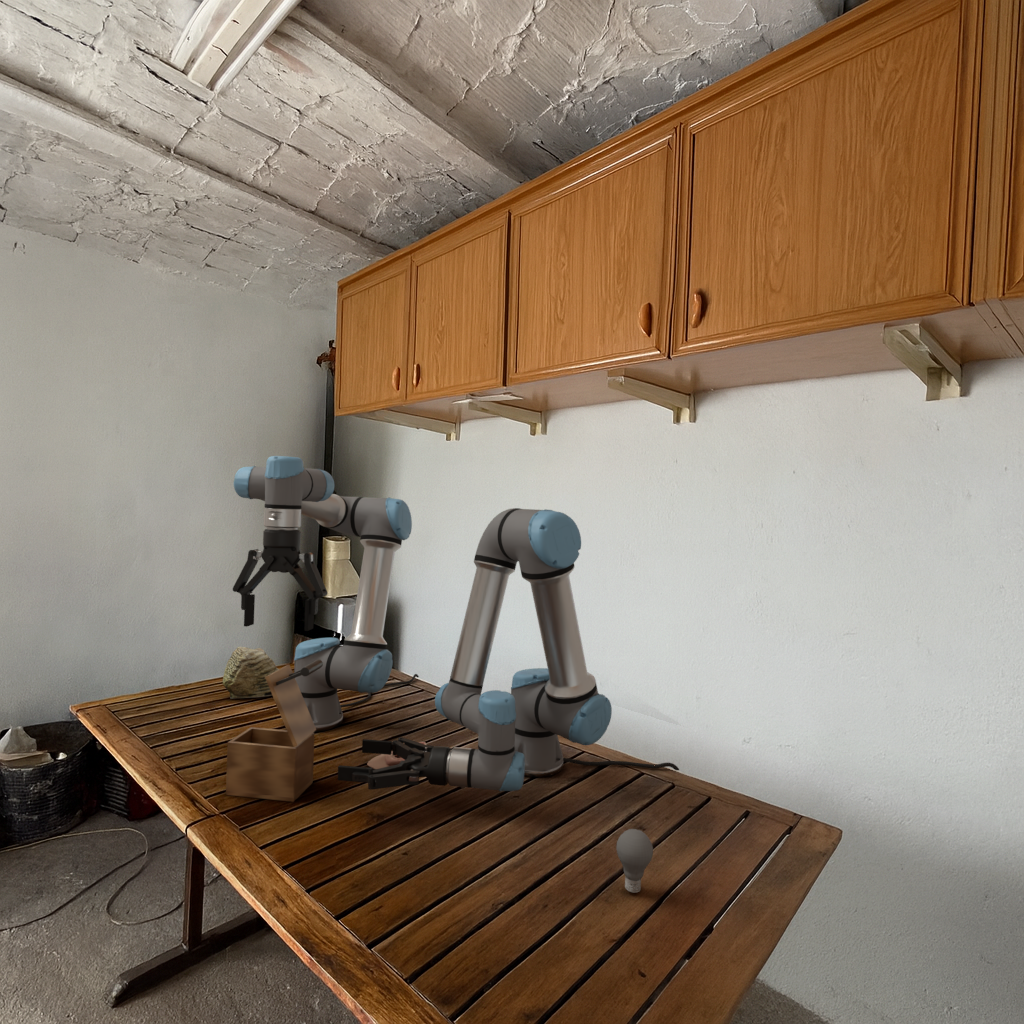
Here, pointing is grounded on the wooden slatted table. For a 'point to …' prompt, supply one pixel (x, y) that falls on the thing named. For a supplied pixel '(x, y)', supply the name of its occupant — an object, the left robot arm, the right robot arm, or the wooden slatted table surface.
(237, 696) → the fossil
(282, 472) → the left robot arm
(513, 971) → the wooden slatted table surface
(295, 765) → the chest
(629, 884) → the light bulb
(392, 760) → the anatomical model
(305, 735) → the lid
